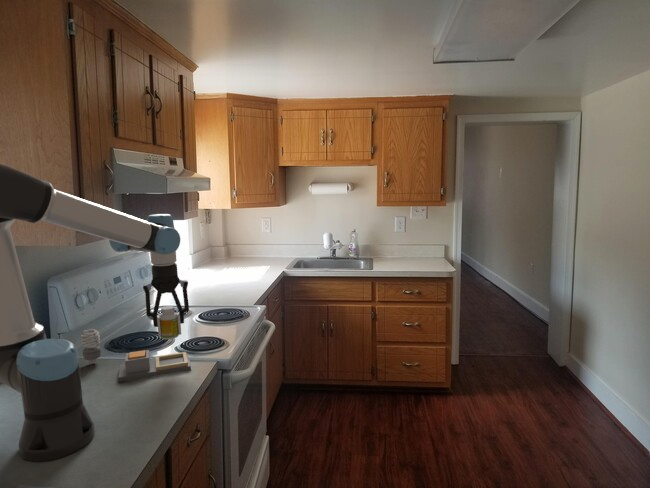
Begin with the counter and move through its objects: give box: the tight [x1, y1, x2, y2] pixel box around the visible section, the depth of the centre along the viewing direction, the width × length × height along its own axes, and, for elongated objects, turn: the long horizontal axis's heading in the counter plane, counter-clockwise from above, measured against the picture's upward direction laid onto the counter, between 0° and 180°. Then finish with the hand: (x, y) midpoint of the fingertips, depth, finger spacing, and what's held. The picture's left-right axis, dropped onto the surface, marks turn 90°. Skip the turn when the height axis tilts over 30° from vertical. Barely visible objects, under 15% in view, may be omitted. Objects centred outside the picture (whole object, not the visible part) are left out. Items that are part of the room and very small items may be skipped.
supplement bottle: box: [159, 305, 180, 341], centre depth 145 cm, size 5×5×10 cm
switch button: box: [129, 349, 146, 360], centre depth 143 cm, size 5×5×4 cm
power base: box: [117, 349, 192, 383], centre depth 145 cm, size 21×11×6 cm, turn 111°
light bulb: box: [80, 328, 102, 365], centre depth 150 cm, size 6×6×12 cm
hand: (169, 334), depth 145 cm, fingers closed on supplement bottle, 5 cm apart
